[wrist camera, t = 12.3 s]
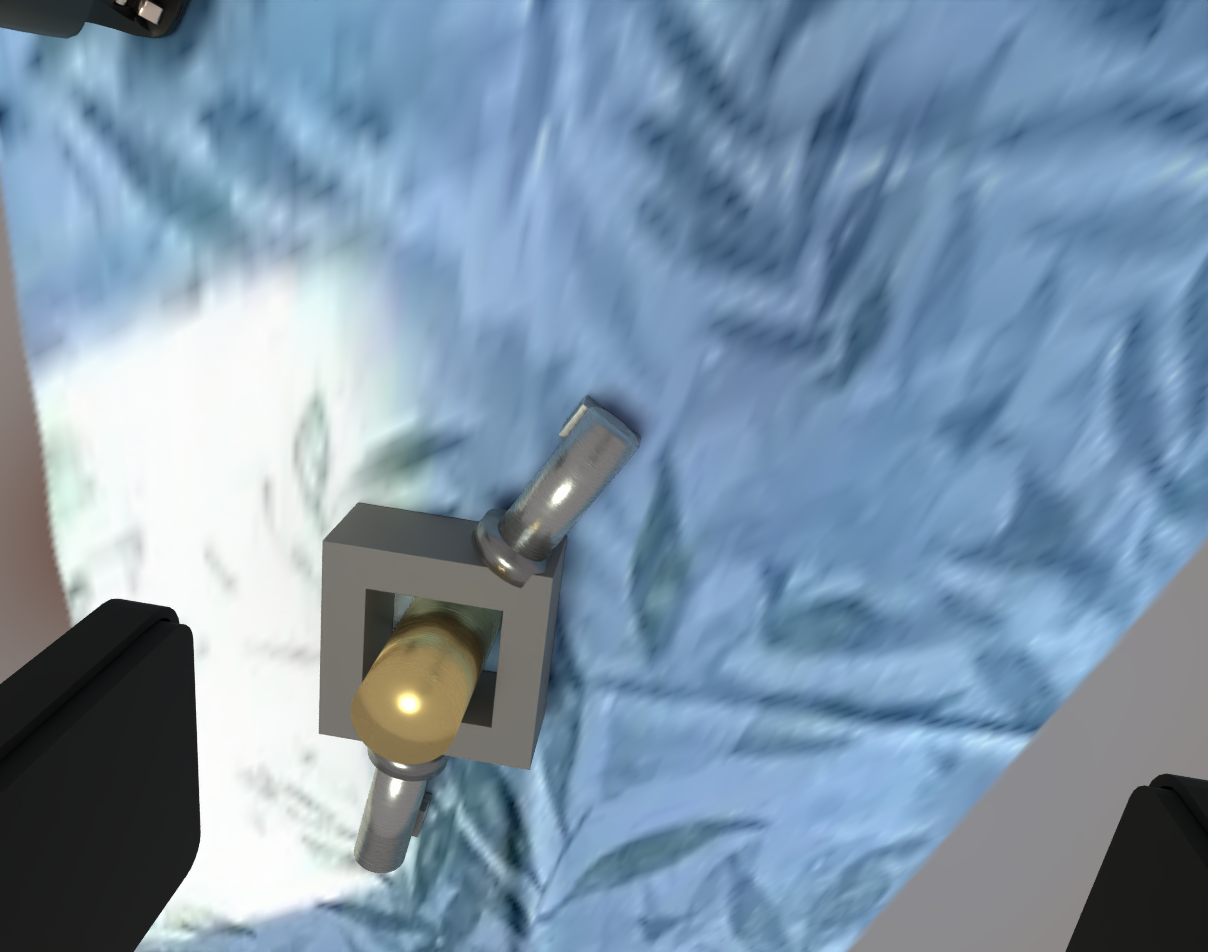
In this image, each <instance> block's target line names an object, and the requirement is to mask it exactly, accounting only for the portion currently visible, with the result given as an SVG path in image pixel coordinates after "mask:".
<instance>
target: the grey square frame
mask: <svg viewBox="0 0 1208 952" xmlns="http://www.w3.org/2000/svg"><path fill="white" fill-rule="evenodd" d="M478 523H479V522H476V521H470V520H463V519H457V518H451V517H445V516H438V515H432V514H426V513H419V512H413V511H407V510H401V509H394V508H388V507H382V506H376V505H369V504H363V503H357V504H356V506H355V507H354V508H353V509H352V510H351V511H350V512H349V513H348V514H347V515H346V516H345V517H344V518H343V519H342V521H341V522H340V523H339V524H338V525H337V526H336V527H335V528H334V529H333V530H332V531H331V532H330V533H329V535H328V536H327V537H326V538H325V539H324V540H323V551H322V601H321V652H320V702H319V734H324V735H330V736H336V737H341V738H347V739H353V740H359V741H362V740H361V739H360V738H359V736H358V735H357V733H356V731H355V729H354V726H353V724H352V719H351V704H352V700H353V698H354V695H355V693H356V692H357V690H358V689H359V687H360V685H361V684H362V682H363V680H364V679H365V677H366V675H367V674H368V672H369V671H370V669H371V667H372V666H373V664H374V662H375V661H376V659H377V658H378V656H379V654H380V653H381V651H382V649H383V648H384V646H385V644H386V643H387V641H388V640H389V638H390V636H391V635H392V627H393V608H394V593H397V594H403V595H409V596H415V597H421V598H427V599H433V600H439V601H445V602H451V603H458V604H464V605H470V606H476V607H482V608H488V609H494V610H500V611H503V619H502V629H501V639H500V649H499V659H498V669H497V673H494V672H488V671H482V672H481V674H480V677H479V679H478V682H477V684H476V687H475V689H474V692H473V694H472V696H471V699H470V701H469V704H468V706H467V709H466V711H465V714H464V716H463V719H462V721H461V723H460V726H459V728H458V731H457V733H456V736H455V738H454V740H453V742H452V744H451V746H450V747H449V748H448V750H447V751H446V752H445V753H444V754H442V755H446V756H452V757H458V758H463V759H469V760H475V761H481V762H487V763H492V764H498V765H504V766H510V767H516V768H521V769H527V770H530V767H531V763H532V759H533V755H534V752H535V748H536V744H537V741H538V737H539V733H540V729H541V726H542V722H543V718H544V715H545V707H546V699H547V691H548V683H549V675H550V667H551V659H552V651H553V643H554V635H555V627H556V619H557V611H558V603H559V595H560V587H561V579H562V571H563V563H564V556H565V548H566V540H567V536H564V538H563V539H562V540H561V541H560V542H559V543H558V545H557V546H556V547H555V548H554V549H553V552H552V554H551V557H550V560H549V563H548V566H547V568H546V571H545V573H542V574H536V575H532V576H531V577H530V578H529V580H528V581H527V582H526V583H525V584H524V586H523V587H522V588H518V587H515V586H513V585H511V584H509V583H507V582H506V581H504V580H502V579H501V578H499V577H498V576H497V575H495V574H494V573H493V572H492V571H491V570H490V569H489V568H488V567H487V566H486V565H485V564H484V563H483V562H482V561H481V559H480V558H479V557H478V555H477V554H476V552H475V550H474V548H473V546H472V542H471V533H472V531H473V530H474V528H475V527H476V526H477V525H478Z"/></svg>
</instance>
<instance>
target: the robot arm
mask: <svg viewBox="0 0 1208 952" xmlns="http://www.w3.org/2000/svg"><path fill="white" fill-rule="evenodd" d="M200 833H201V831H200V804H199V778H198V752H197V725H196V699H195V672H194V646H193V635H192V631H191V629H190V627H188V626H187V625H184V624H179V618H178V616H177V614H176V612H175V611H174V610H173V609H171V608H170V607H165V606H159V605H153V604H147V603H141V602H135V601H129V600H123V599H110V600H109V601H107V602H105V603H103V604H102V605H101V606H99V607H98V608H97V609H95V610H94V611H93V612H92V613H90V614H89V615H88V616H87V617H85V618H84V619H83V620H81V621H80V622H79V623H78V624H76V625H75V626H74V627H73V628H71V629H70V630H69V631H67V632H66V633H65V634H64V635H62V636H61V637H60V638H59V639H57V640H56V641H55V642H53V643H52V644H51V645H50V646H48V647H47V648H46V649H45V650H43V651H42V652H41V653H39V654H38V655H37V656H36V657H34V658H33V659H32V660H30V661H29V662H28V663H27V664H25V665H24V666H23V667H22V668H20V669H19V670H18V671H16V672H15V673H14V674H13V675H12V676H10V677H9V678H8V679H6V680H5V681H4V682H3V683H1V684H0V952H134V951H135V949H136V948H137V946H138V945H139V943H140V942H141V940H142V939H143V938H144V936H145V935H146V933H147V932H148V930H149V929H150V927H151V926H152V925H153V923H154V922H155V920H156V919H157V917H158V916H159V914H160V913H161V912H162V910H163V909H164V907H165V906H166V904H167V903H168V902H169V900H170V899H171V897H172V896H173V894H174V893H175V891H176V890H177V889H178V887H179V886H180V884H181V883H182V881H183V880H184V878H185V877H186V876H187V874H188V872H189V871H190V869H191V867H192V865H193V862H194V860H195V858H196V855H197V851H198V848H199V843H200ZM1066 952H1208V780H1201V779H1195V778H1190V777H1184V776H1178V775H1172V774H1163V775H1159V776H1157V777H1156V778H1155V779H1154V780H1152V782H1151V783H1150V785H1149V786H1140V787H1138V788H1136V789H1135V790H1134V791H1133V793H1132V794H1131V796H1130V798H1129V800H1128V803H1127V805H1126V808H1125V810H1124V812H1123V815H1122V817H1121V820H1120V822H1119V824H1118V827H1117V829H1116V832H1115V834H1114V836H1113V839H1112V841H1111V844H1110V846H1109V848H1108V851H1107V853H1106V856H1105V858H1104V860H1103V863H1102V865H1101V868H1100V870H1099V872H1098V875H1097V877H1096V880H1095V882H1094V885H1093V887H1092V889H1091V892H1090V894H1089V896H1088V899H1087V901H1086V904H1085V906H1084V909H1083V911H1082V913H1081V916H1080V918H1079V921H1078V923H1077V925H1076V928H1075V930H1074V933H1073V935H1072V938H1071V940H1070V942H1069V945H1068V947H1067V949H1066Z"/></svg>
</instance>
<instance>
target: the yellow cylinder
mask: <svg viewBox="0 0 1208 952" xmlns="http://www.w3.org/2000/svg"><path fill="white" fill-rule="evenodd" d="M501 619H502V613H501V611H500V610H494V609H488V608H482V607H476V606H470V605H464V604H458V603H451V602H445V601H439V600H433V599H427V598H421V597H414V599H413V600H412V602H411V604H410V605H409V607H408V609H407V610H406V612H405V614H404V615H403V617H402V618H401V620H400V622H399V623H398V625H397V627H396V628H395V630H394V631H393V633H392V635H391V636H390V638H389V640H388V641H387V643H386V644H385V646H384V648H383V649H382V651H381V653H380V654H379V656H378V658H377V659H376V661H375V662H374V664H373V666H372V667H371V669H370V671H369V672H368V674H367V675H366V677H365V679H364V680H363V682H362V684H361V685H360V687H359V689H358V690H357V692H356V693H355V695H354V698H353V700H352V704H351V719H352V724H353V726H354V729H355V731H356V733H357V735H358V736H359V738H360V739H361V740H362V741H363V743H364V744H365V745H366V746H367V747H368V748H370V749H371V750H372V751H373V752H375V753H376V754H378V755H380V756H381V757H383V758H386V759H388V760H391V761H394V762H398V763H403V764H420V763H425V762H429V761H432V760H434V759H436V758H438V757H440V756H441V755H442V754H444V753H445V752H446V751H447V750H448V748H449V747H450V746H451V744H452V742H453V740H454V738H455V736H456V733H457V731H458V728H459V726H460V723H461V721H462V719H463V716H464V714H465V711H466V709H467V706H468V704H469V701H470V699H471V696H472V694H473V692H474V689H475V687H476V684H477V682H478V679H479V677H480V674H481V672H482V670H483V667H484V665H485V662H486V660H487V657H488V655H489V652H490V650H491V647H492V645H493V643H494V640H495V638H496V635H497V633H498V630H499V628H500V625H501Z"/></svg>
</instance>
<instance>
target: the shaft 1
mask: <svg viewBox="0 0 1208 952" xmlns="http://www.w3.org/2000/svg"><path fill="white" fill-rule="evenodd" d="M368 755H369V758H370V760H371V762H372V763H373V764H374V765H375V766H376V769H375V773H374V777H373V781H372V784H371V788H370V792H369V795H368V799H367V802H366V806H365V810H364V814H363V817H362V821H361V825H360V829H359V833H358V836H357V840H356V844H355V847H354V856H355V859H356V861H357V862H358V863H359V864H360V865H361V866H362V867H363V868H365V869H366V870H368V871H371V872H375V873H388V872H391V871H394V870H396V869H397V868H398V867H400V866H401V864H402V863H403V861H404V859H405V855H406V852H407V849H408V845H409V842H410V839H411V835H412V836H415V837H418V834H419V832H420V829H421V827H422V824H423V822H424V819H425V816H426V813H427V810H428V806H429V803H430V800H431V796H432V794H431V793H427V792H425V788H426V785H427V782H428V779H431V778H433V777H435V776H437V775H438V774H440V773H441V772H442V771H443V770H444V768H445V767H446V764H447V761H448V758H449V756H446V755H441V756H440V757H438V758H436V759H434V760H432V761H429V762H425V763H420V764H403V763H398V762H394V761H391V760H388V759H386V758H383V757H381V756H380V755H378V754H376V753H375V752H373V751H372V750H371V749H370V748H368Z"/></svg>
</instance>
